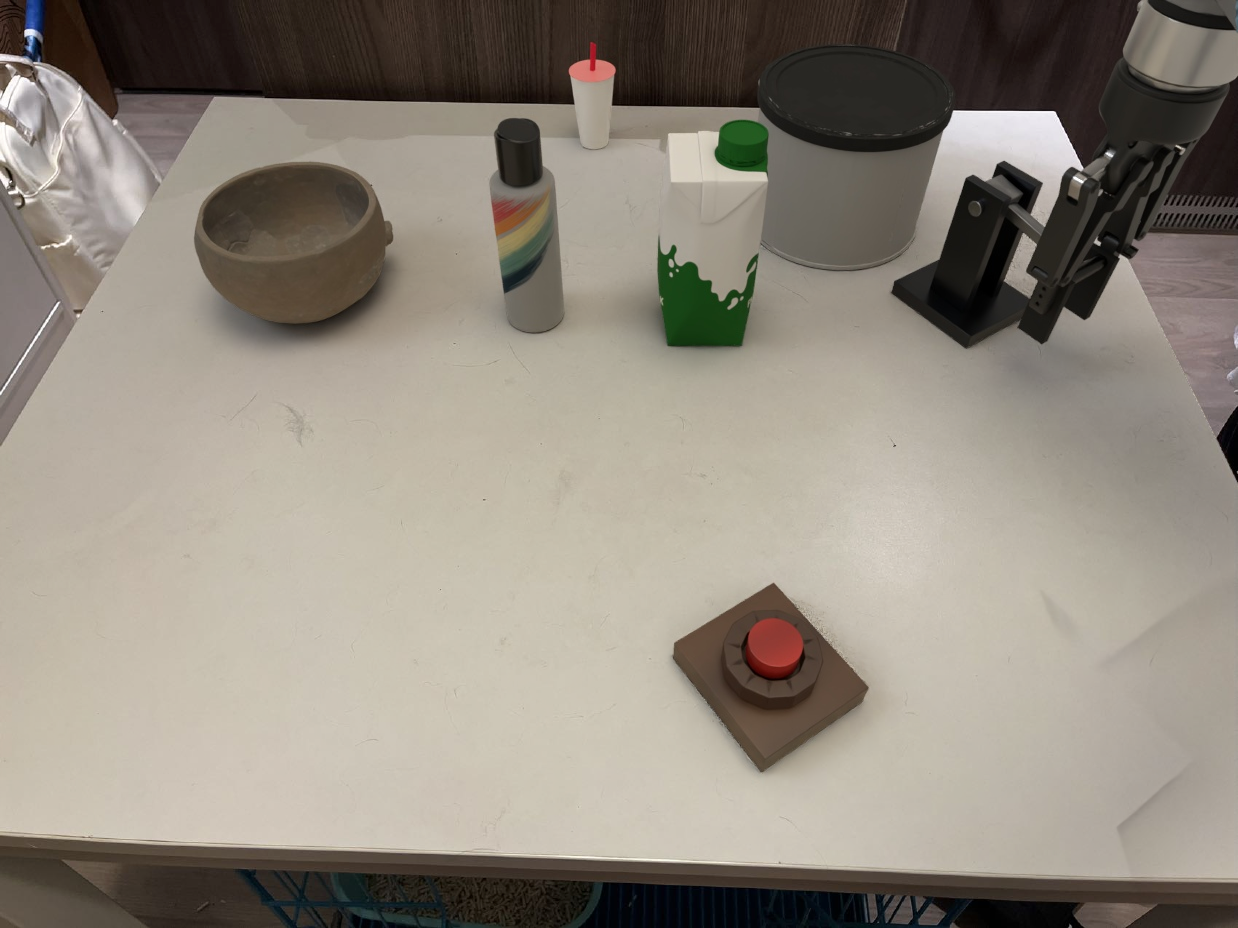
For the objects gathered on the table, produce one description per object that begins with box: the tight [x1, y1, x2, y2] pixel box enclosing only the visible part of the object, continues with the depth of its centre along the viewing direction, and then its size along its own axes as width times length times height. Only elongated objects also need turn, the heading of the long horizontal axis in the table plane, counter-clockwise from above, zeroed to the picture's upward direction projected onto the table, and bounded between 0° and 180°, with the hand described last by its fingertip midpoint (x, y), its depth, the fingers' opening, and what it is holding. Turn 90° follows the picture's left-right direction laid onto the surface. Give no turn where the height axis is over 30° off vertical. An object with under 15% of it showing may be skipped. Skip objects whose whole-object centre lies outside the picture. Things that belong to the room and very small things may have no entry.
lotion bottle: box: [488, 117, 565, 334], centre depth 80 cm, size 6×6×20 cm
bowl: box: [193, 161, 394, 324], centre depth 87 cm, size 17×18×10 cm
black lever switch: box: [891, 160, 1044, 349], centre depth 83 cm, size 10×9×14 cm
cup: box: [568, 41, 617, 150], centre depth 104 cm, size 5×5×12 cm
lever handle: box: [984, 175, 1107, 284], centre depth 78 cm, size 12×5×2 cm, turn 33°
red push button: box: [746, 618, 803, 679], centre depth 59 cm, size 4×4×2 cm
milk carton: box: [656, 119, 769, 347], centre depth 80 cm, size 9×9×20 cm
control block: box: [672, 582, 870, 773], centre depth 61 cm, size 10×9×4 cm
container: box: [756, 43, 957, 271], centre depth 92 cm, size 19×19×15 cm
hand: (1053, 321), depth 80 cm, fingers closed on lever handle, 5 cm apart
